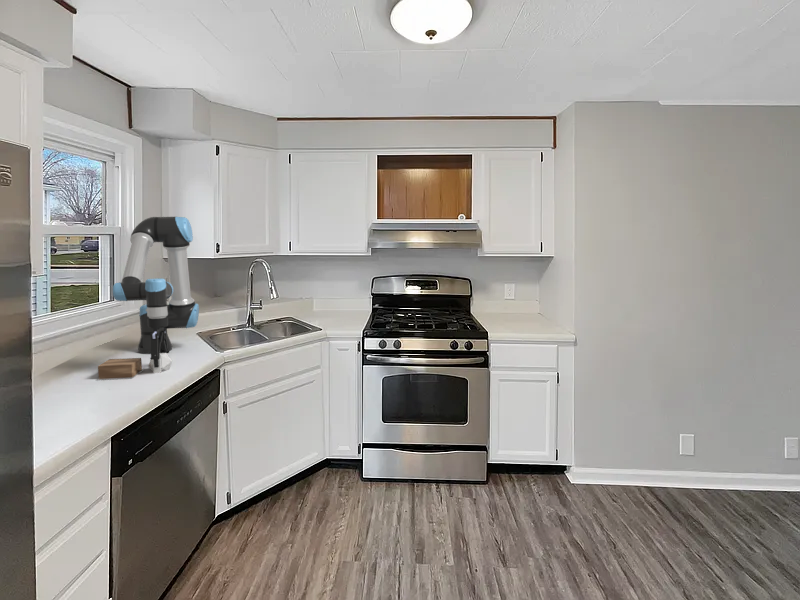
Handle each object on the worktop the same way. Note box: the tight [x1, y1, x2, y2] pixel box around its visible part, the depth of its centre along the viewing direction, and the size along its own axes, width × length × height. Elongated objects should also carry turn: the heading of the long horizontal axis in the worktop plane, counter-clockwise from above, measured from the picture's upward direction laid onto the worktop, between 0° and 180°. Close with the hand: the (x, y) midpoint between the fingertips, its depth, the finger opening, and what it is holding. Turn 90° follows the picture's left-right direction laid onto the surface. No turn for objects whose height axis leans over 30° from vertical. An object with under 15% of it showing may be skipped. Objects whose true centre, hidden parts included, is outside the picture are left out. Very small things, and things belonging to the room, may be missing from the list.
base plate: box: [95, 368, 145, 382], centre depth 215 cm, size 16×13×1 cm
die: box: [148, 353, 173, 373], centre depth 222 cm, size 8×9×10 cm
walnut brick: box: [97, 357, 143, 379], centre depth 215 cm, size 12×12×5 cm
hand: (160, 372), depth 222 cm, fingers open, 9 cm apart
